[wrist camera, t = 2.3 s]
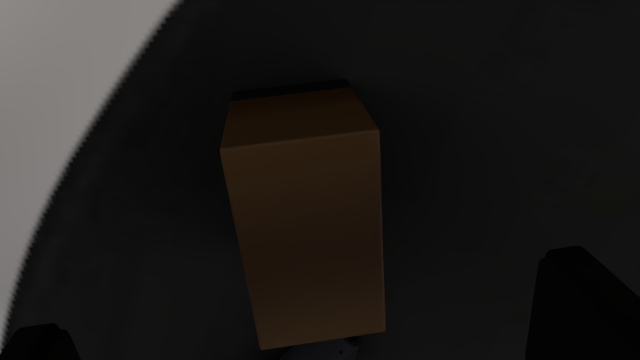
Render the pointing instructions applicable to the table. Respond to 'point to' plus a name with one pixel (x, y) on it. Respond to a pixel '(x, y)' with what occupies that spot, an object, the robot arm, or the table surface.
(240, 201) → the brown wooden block
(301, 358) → the bracket
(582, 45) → the table surface
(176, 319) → the table surface
